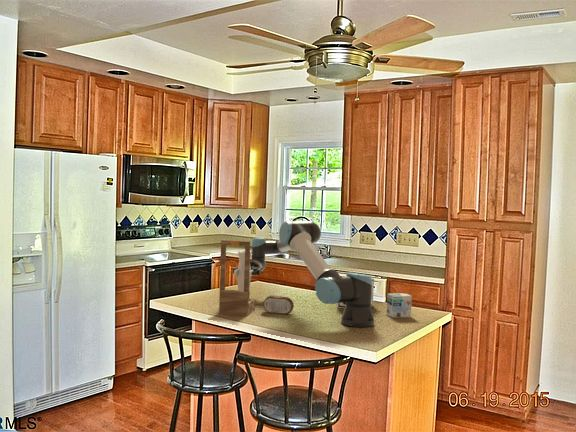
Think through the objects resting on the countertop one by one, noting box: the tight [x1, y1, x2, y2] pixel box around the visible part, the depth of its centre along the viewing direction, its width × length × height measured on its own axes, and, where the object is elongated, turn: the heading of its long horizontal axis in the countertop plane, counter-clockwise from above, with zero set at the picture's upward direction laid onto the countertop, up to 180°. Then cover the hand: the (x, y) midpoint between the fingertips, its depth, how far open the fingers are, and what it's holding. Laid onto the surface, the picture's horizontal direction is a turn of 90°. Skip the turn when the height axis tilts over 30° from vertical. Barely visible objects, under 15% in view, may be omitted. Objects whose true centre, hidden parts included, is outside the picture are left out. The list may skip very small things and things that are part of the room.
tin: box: [263, 295, 294, 315], centre depth 270 cm, size 15×3×8 cm, turn 74°
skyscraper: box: [236, 248, 252, 301], centre depth 282 cm, size 8×8×28 cm
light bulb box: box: [385, 292, 413, 318], centre depth 273 cm, size 11×7×11 cm, turn 105°
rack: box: [218, 239, 256, 317], centre depth 270 cm, size 15×14×36 cm
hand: (241, 273), depth 277 cm, fingers closed on skyscraper, 7 cm apart
